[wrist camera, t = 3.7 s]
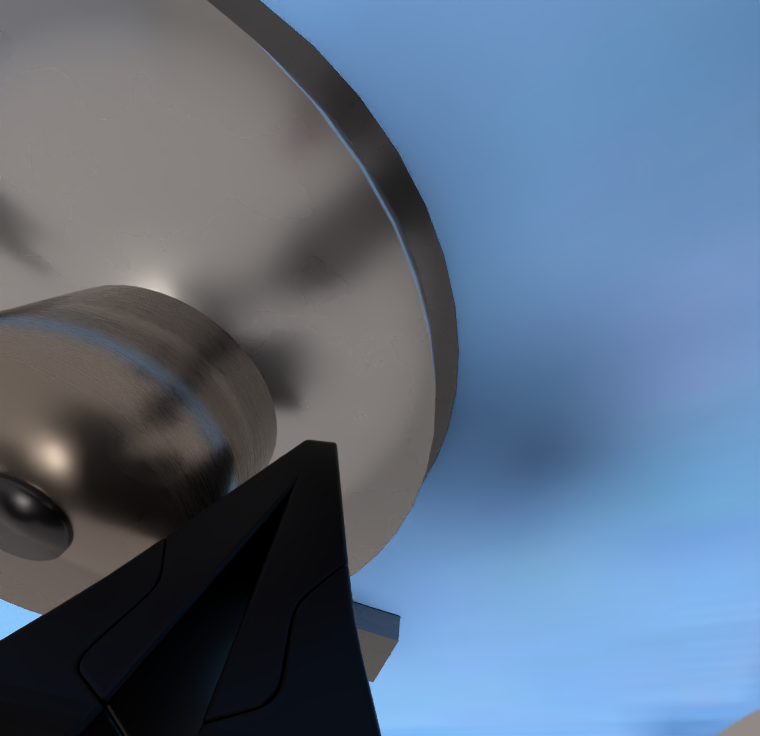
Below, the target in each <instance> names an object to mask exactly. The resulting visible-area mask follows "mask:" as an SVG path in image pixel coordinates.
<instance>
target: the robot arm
mask: <svg viewBox="0 0 760 736" xmlns="http://www.w3.org/2000/svg"><path fill="white" fill-rule="evenodd" d="M0 736H381V732H380V728H379V723H378V719H377V715H376V711H375V706H374V702H373V698H372V694H371V689H370V685H369V681H368V677H367V672H366V668H365V664H364V660H363V655H362V650H361V646H360V641H359V636H358V631H357V626H356V621H355V614H354V607H353V600H352V592H351V583H350V573H349V567H348V554H347V544H346V533H345V523H344V512H343V502H342V491H341V481H340V470H339V460H338V449H337V444H336V443H335V442H328V441H319V440H310V439H307V440H305V441H303V442H302V443H300V444H299V445H297V446H296V447H295V448H293V449H292V450H290V451H289V452H287V453H286V454H284V455H283V456H281V457H280V458H279V459H277V460H276V461H274V462H273V463H271V464H270V465H268V466H267V467H266V468H264V469H263V470H261V471H260V472H258V473H257V474H255V475H254V476H252V477H251V478H250V479H248V480H247V481H245V482H244V483H242V484H241V485H239V486H238V487H237V488H235V489H234V490H232V491H231V492H229V493H228V494H226V495H225V496H223V497H222V498H221V499H219V500H218V501H216V502H215V503H213V504H212V505H210V506H209V507H208V508H206V509H205V510H203V511H202V512H200V513H199V514H197V515H196V516H194V517H193V518H192V519H190V520H189V521H187V522H186V523H184V524H183V525H181V526H180V527H179V528H177V529H176V530H174V531H173V532H171V533H170V534H168V535H167V537H166V539H164V538H163V539H161V540H159V541H158V542H157V543H155V544H154V545H152V546H151V547H149V548H148V549H146V550H145V551H143V552H142V553H141V554H139V555H138V556H136V557H135V558H133V559H131V560H130V561H128V562H127V563H125V564H124V565H122V566H121V567H119V568H118V569H116V570H115V571H113V572H112V573H110V574H109V575H107V576H106V577H104V578H103V579H101V580H99V581H98V582H96V583H95V584H93V585H91V586H90V587H88V588H86V589H85V590H83V591H82V592H80V593H78V594H77V595H75V596H73V597H72V598H70V599H69V600H67V601H65V602H64V603H62V604H60V605H59V606H57V607H55V608H54V609H52V610H50V611H49V612H47V613H45V614H44V615H42V616H40V617H39V618H37V619H35V620H34V621H32V622H30V623H29V624H27V625H25V626H24V627H22V628H20V629H19V630H17V631H15V632H14V633H12V634H10V635H9V636H7V637H5V638H4V639H2V640H0Z"/></svg>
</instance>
